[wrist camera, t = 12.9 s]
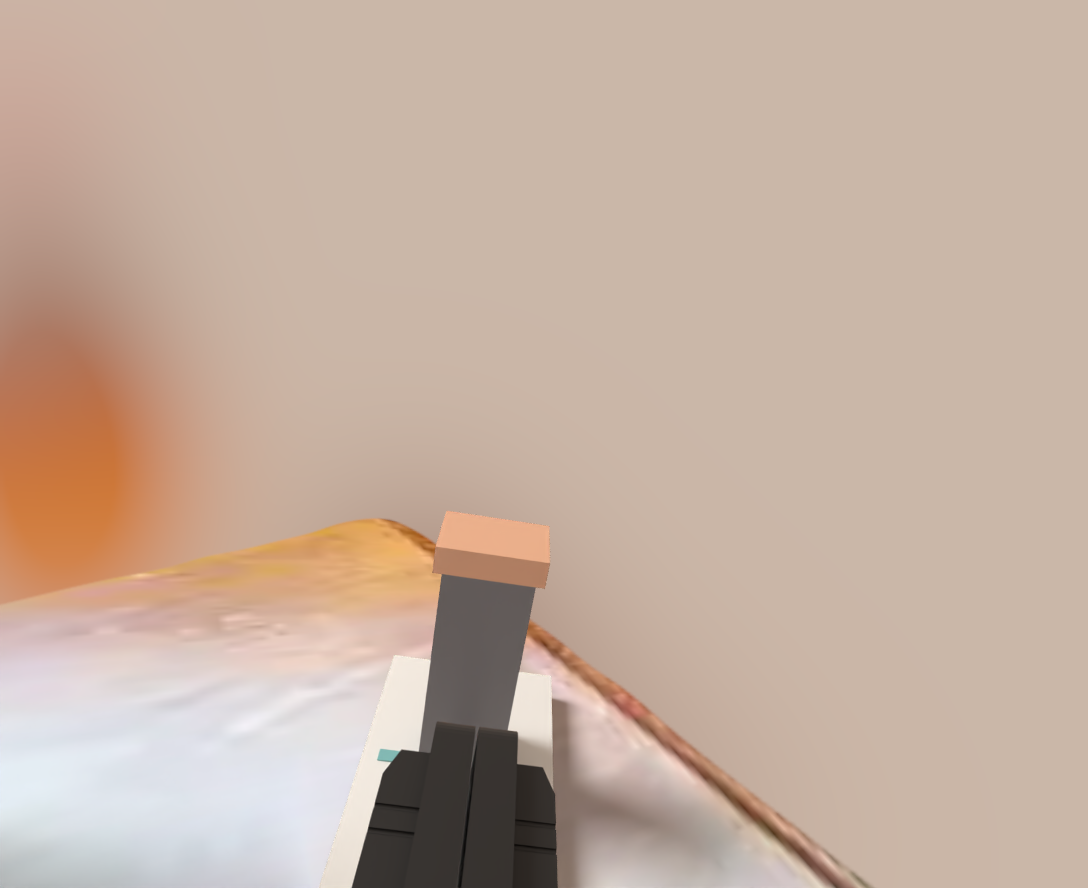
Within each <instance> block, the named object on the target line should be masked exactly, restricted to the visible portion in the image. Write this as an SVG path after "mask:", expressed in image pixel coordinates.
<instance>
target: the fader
mask: <svg viewBox="0 0 1088 888" xmlns="http://www.w3.org/2000/svg"><path fill="white" fill-rule="evenodd" d="M549 566H550V539H549V526H545V525H538V524H532V523H524V522H518V521H511V520H504V519H498V518H492V517H484V516H478V515H472V514H465V513H458V512H452V511H447V512H446V515H445V518H444V521H443V524H442V528H441V531H440V534H439V538H438V541H437V544H436V548H435V556H434V564H433V572H432V573H438V574H442V577H441V585H440V592H439V600H438V608H437V615H436V623H435V631H434V638H433V646H432V654H431V661H430V669H429V677H428V684H427V692H426V700H425V707H424V715H423V722H422V730H421V738H420V745H419V752H426V753H430V752H431V747H432V742H433V737H434V732H435V727H436V722H437V721H439V722H447V723H454V724H462V725H470V726H475V737H474V746H473V754H474V748H475V743H476V738H477V732H478V728H479V727H486V728H494V729H501V730H508V726H509V721H510V716H511V711H512V706H513V700H514V695H515V690H516V685H517V680H518V675H519V670H520V665H521V660H522V654H523V649H524V644H525V639H526V634H527V629H528V624H529V619H530V613H531V608H532V603H533V598H534V593H535V588H543V589H545V586H546V581H547V576H548V571H549ZM473 754H472V759H473ZM471 765H472V762H471Z"/></svg>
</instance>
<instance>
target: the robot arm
mask: <svg viewBox="0 0 1088 888" xmlns="http://www.w3.org/2000/svg"><path fill="white" fill-rule="evenodd" d="M474 737H475V726H470V725H462V724H454V723H447V722H439V721H437V722H436V727H435V732H434V737H433V742H432V747H431V752H430V753H426V752H418V751H411V750H403V749H401V751H400V752H399V753H398V754H397V756H396V757H395V758H394V759H393V761H392V762H391V763H390V764H389V766H388V767H387V768H386V770H385V771H384V772H383V774H382V778H381V781H380V785H379V789H378V792H377V796H376V800H375V804H374V808H373V811H372V814H371V818H370V822H369V825H368V830H367V833H366V836H365V840H364V844H363V848H362V851H361V855H360V859H359V862H358V866H357V870H356V873H355V877H354V881H353V884H352V888H558V887H557V855H556V830H555V825H556V814H555V793H554V791H553V789H552V787H551V784H550V782H549V780H548V778H547V775H546V773H545V771H544V769H543V767H537V766H529V765H522V764H517V754H518V732H517V731H509V730H501V729H494V728H486V727H479V728H478V732H477V738H476V743H475V748H474V754H473V746H474ZM472 754H473V759H472ZM471 762H472V765H471Z"/></svg>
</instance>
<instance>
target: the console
mask: <svg viewBox="0 0 1088 888" xmlns="http://www.w3.org/2000/svg"><path fill="white" fill-rule="evenodd" d="M430 661H431V660H428V659H421V658H413V657H406V656H398V655H394V657H393V660H392V663H391V666H390V669H389V673H388V676H387V679H386V682H385V685H384V688H383V691H382V694H381V697H380V700H379V703H378V707H377V710H376V713H375V716H374V719H373V722H372V725H371V728H370V731H369V734H368V737H367V740H366V744H365V747H364V750H363V753H362V756H361V759H360V762H359V765H358V768H357V771H356V774H355V778H354V781H353V784H352V787H351V790H350V793H349V796H348V799H347V802H346V805H345V808H344V812H343V815H342V818H341V821H340V824H339V827H338V830H337V833H336V836H335V839H334V842H333V846H332V849H331V852H330V855H329V858H328V861H327V864H326V867H325V870H324V873H323V876H322V879H321V883H320V886H319V888H352V884H353V881H354V877H355V873H356V870H357V866H358V862H359V859H360V855H361V851H362V848H363V844H364V840H365V836H366V833H367V830H368V825H369V822H370V818H371V814H372V811H373V808H374V804H375V800H376V796H377V792H378V789H379V785H380V781H381V778H382V774H383V772H384V771H385V770H386V768H387V767H388V766H389V764H390V763H391V762H392V761H393V759H394V758H395V757H396V756H397V754H398V753H399V752H400V751H401V749H403V750H411V751H418V752H419V745H420V738H421V730H422V722H423V715H424V707H425V700H426V692H427V684H428V677H429V669H430ZM508 730H509V731H517V732H518V754H517V764H522V765H529V766H537V767H543V769H544V771H545V773H546V775H547V778H548V780H549V782H550V784H551V787H552V789H553V744H552V690H551V676H547V675H539V674H532V673H525V672H519V675H518V680H517V685H516V690H515V695H514V700H513V706H512V711H511V716H510V721H509V726H508Z"/></svg>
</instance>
